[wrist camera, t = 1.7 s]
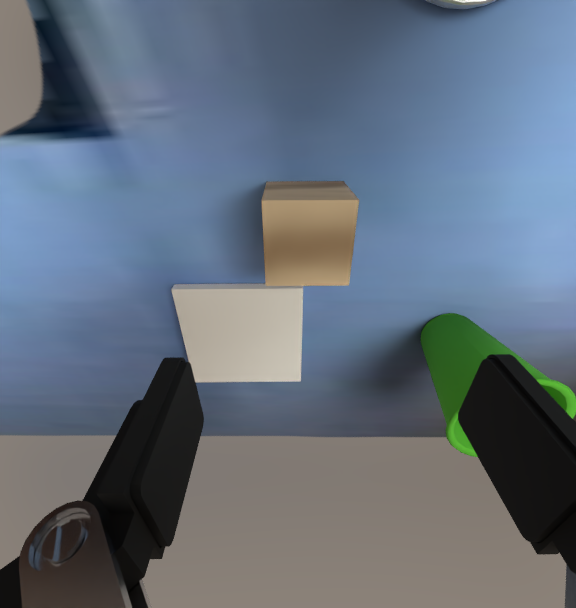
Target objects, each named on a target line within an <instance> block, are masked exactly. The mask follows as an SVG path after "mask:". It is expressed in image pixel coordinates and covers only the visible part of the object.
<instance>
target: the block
mask: <svg viewBox="0 0 576 608" xmlns="http://www.w3.org/2000/svg"><path fill="white" fill-rule="evenodd" d="M358 205H359V199H358V198H357V197H356V196H355V194H354V193H353V192H352V191H351V190H350V188H349V187H348V186H347V185H346V184H345V182H344V181H280V182H266V186H265V190H264V193H263V197H262V221H263V241H264V261H265V281H266V286H340V285H349V280H350V272H351V263H352V255H353V247H354V238H355V230H356V222H357V213H358Z"/></svg>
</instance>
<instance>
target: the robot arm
mask: <svg viewBox="0 0 576 608" xmlns="http://www.w3.org/2000/svg"><path fill="white" fill-rule="evenodd" d="M425 1H427V2H429V3H432V4H435V5H438V6H441V7H443V8H451V9H469V8H475V7H480V6H485V5H488V4H490V3H492V2H495V1H497V0H425ZM458 421H459V424H460V426H461V427H462V429H463V431H464V433H465V435H466V436H467V438H468V440H469V442H470V443H471V445H472V447H473V449H474V451H475V452H476V454H477V456H478V458H479V459H480V461H481V463H482V465H483V467H484V468H485V470H486V472H487V474H488V476H489V477H490V479H491V481H492V483H493V485H494V486H495V488H496V490H497V492H498V494H499V495H500V497H501V499H502V501H503V503H504V504H505V506H506V508H507V510H508V511H509V513H510V515H511V517H512V519H513V520H514V522H515V524H516V526H517V528H518V529H519V531H520V533H521V534H522V536H523V537H524V538H525V539H526V540H528V541H529V542H531V544H532V546H533V548H534V550H535V551H536V553H537V554H558V553H559V552H560V554H561V555H562V557H563V559H564V560H565V562H566V564H567V567H566V590H565V608H576V422H575V421H574V420H573V419H572V418H571V417H570V416H569V415H568V413H567V412H566V411H565V410H564V409H563V408H562V407H561V406H560V405H559V404H558V403H557V402H556V401H555V400H554V398H553V397H552V396H551V395H550V394H549V393H548V392H547V391H546V390H545V389H544V388H543V387H542V386H541V385H540V384H539V382H538V381H537V380H536V379H535V378H534V377H533V376H532V375H531V374H530V373H529V372H528V371H527V370H526V369H525V367H524V366H523V365H522V364H521V363H520V362H519V361H518V360H517V359H516V358H515V357H514V356H513V355H510V354H491V355H488V356H487V358H486V359H484V360H482V362H481V364H480V366H479V368H478V370H477V373H476V375H475V377H474V379H473V381H472V384H471V386H470V388H469V390H468V392H467V395H466V397H465V399H464V401H463V403H462V406H461V408H460V410H459V412H458ZM203 422H204V417H203V412H202V408H201V404H200V400H199V395H198V391H197V387H196V383H195V379H194V375H193V371H192V367H191V363H190V362H185V359H184V358H164V359H163V360H162V362H161V364H160V366H159V368H158V370H157V372H156V374H155V376H154V378H153V380H152V382H151V384H150V386H149V388H148V390H147V392H146V394H145V397H144V399H143V400H138V401H136V402H135V403H134V404H133V406H132V407H131V409H130V411H129V413H128V415H127V416H126V418H125V420H124V422H123V424H122V426H121V428H120V430H119V432H118V434H117V436H116V438H115V440H114V441H113V443H112V445H111V447H110V449H109V451H108V453H107V455H106V457H105V459H104V461H103V463H102V464H101V466H100V468H99V470H98V472H97V474H96V476H95V478H94V480H93V482H92V484H91V486H90V488H89V489H88V491H87V493H86V495H85V497H84V499H83V501H74V502H70V503H66V504H64V505H62V506H60V507H58V508H56V509H55V510H53V511H52V512H51V513H49V514H48V515H47V516H45V517H44V518H43V519H42V520H41V521H40V522H39V523H38V524H37V525H36V526H35V527H34V529H33V530H32V531H31V533H30V534H29V536H28V537H27V539H26V540H25V543H24V545H23V547H22V550H21V553H20V556H19V557H17V558H16V559H15V560H13V561H12V562H11V563H9V564H8V565H6V566H5V567H4V568H2V569H1V570H0V608H152V607H151V604H150V601H149V598H148V595H147V592H146V589H145V586H144V584H143V581H142V578H143V577H144V576H145V573H146V570H147V567H148V563H149V560H150V559H162V557H163V553H164V549H165V546H170V545H171V543H172V541H173V539H174V535H175V531H176V528H177V524H178V520H179V515H180V512H181V508H182V504H183V501H184V497H185V493H186V489H187V485H188V482H189V478H190V474H191V470H192V466H193V462H194V459H195V455H196V451H197V447H198V443H199V440H200V436H201V432H202V428H203Z"/></svg>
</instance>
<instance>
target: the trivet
mask: <svg viewBox="0 0 576 608" xmlns="http://www.w3.org/2000/svg"><path fill="white" fill-rule="evenodd" d="M171 290H172V294H173V299H174V303H175V307H176V311H177V315H178V319H179V323H180V327H181V331H182V335H183V339H184V344H185V348H186V352H187V356H188V360H189V362H190V363H191V367H192V371H193V375H194V379H195V382H285V381H301V353H302V314H303V286H266V283H265V284H174V286H173V288H172V289H171Z"/></svg>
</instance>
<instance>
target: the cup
mask: <svg viewBox="0 0 576 608" xmlns="http://www.w3.org/2000/svg"><path fill="white" fill-rule="evenodd" d="M420 341H421V346H422V349H423V352H424V355H425V358H426V361H427V364H428V367H429V370H430V373H431V377H432V380H433V383H434V386H435V389H436V392H437V395H438V398H439V401H440V404H441V408H442V411H443V414H444V417H445V420H446V423H447V427H446V436H447V439H448V441H449V442H450V444H451V445H452V446H453V447H454V448H456V449H457V450H459V451H460V452H461V453H464V454H467V455H470V456H475V457H478V456H477V454H476V452H475V451H474V449H473V447H472V445H471V443H470V442H469V440H468V438H467V436H466V435H465V433H464V431H463V429H462V427H461V426H460V424H459V421H458V412H459V410H460V408H461V406H462V403H463V401H464V399H465V397H466V395H467V392H468V390H469V388H470V386H471V384H472V381H473V379H474V377H475V375H476V373H477V370H478V368H479V366H480V364H481V362H482V360H484V359H486V358H487V356H488V355H491V354H510V355H513V356H514V357H515V358H516V359H517V360H518V361H519V362H520V363H521V364H522V365H523V366H524V367H525V369H526V370H527V371H528V372H529V373H530V374H531V375H532V376H533V377H534V378H535V379H536V380H537V381H538V382H539V384H540V385H541V386H542V387H543V388H544V389H545V390H546V391H547V392H548V393H549V394H550V395H551V396H552V397H553V398H554V400H555V401H556V402H557V403H558V404H559V405H560V406H561V407H562V408H563V409H564V410H565V411H566V412H567V413H568V415H569V416H570V417H571V418H572V419H573V417H574V416H575V413H576V399H575V395H574V393H573V392H572V391H571V389H570V388H569V387H568V386H566V385H564V384H562V383H560V382H558V381H555V380H550V379H549V378H548V377H546V376H545V375H544V374H542V373H541V372H540V371H538V370H537V369H535V368H534V367H533V366H531V365H530V364H529V363H527V362H526V361H525V360H523V359H522V358H521V357H519V356H518V355H517V354H515V353H514V352H513V351H511V350H510V349H509V348H507V347H506V346H505V345H503V344H502V343H501V342H499V341H498V340H496V339H495V338H494V337H492V336H491V335H490V334H488V333H487V332H486V331H484V330H483V329H482V328H480V327H479V326H478V325H476V324H475V323H474V322H472V321H471V320H470V319H468V318H466V317H465V316H462V315H459V314H453V313H448V314H443V315H440V316H437V317H435V318H434V319H432V320H431V321H429V322H428V323H427V324H426V325H425V327H424V328H423V330H422V332H421V339H420Z"/></svg>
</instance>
